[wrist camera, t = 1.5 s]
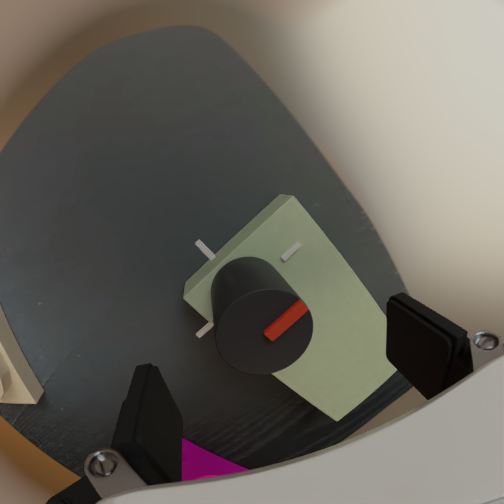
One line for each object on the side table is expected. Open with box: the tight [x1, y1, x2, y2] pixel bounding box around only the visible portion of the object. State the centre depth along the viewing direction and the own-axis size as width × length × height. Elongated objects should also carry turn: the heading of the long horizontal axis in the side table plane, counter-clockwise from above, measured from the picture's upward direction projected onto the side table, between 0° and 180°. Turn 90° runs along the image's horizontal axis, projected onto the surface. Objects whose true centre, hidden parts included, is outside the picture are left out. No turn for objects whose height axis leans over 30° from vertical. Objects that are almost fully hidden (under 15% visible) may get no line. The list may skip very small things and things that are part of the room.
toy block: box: [182, 438, 249, 481], centre depth 21 cm, size 15×6×8 cm, turn 42°
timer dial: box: [211, 257, 313, 375], centre depth 15 cm, size 4×4×6 cm
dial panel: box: [183, 194, 397, 421], centre depth 20 cm, size 20×10×3 cm, turn 42°
